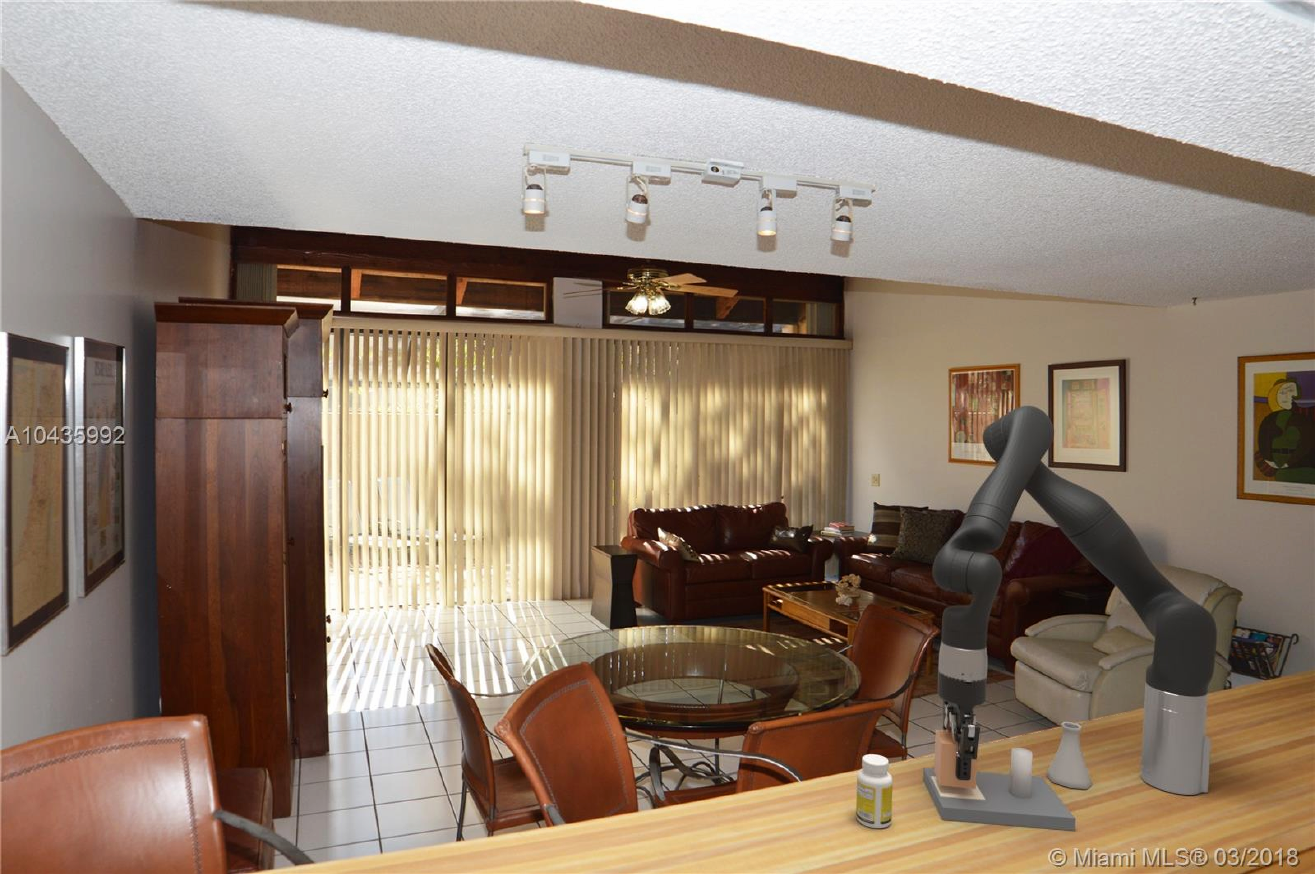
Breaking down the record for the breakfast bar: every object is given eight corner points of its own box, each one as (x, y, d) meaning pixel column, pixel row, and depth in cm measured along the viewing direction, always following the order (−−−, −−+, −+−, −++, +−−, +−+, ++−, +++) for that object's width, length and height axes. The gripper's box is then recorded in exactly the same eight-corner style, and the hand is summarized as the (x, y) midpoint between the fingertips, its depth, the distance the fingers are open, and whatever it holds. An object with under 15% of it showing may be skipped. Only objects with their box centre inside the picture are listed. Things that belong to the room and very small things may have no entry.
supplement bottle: (887, 813, 128) (890, 753, 127) (894, 831, 122) (896, 768, 122) (853, 810, 128) (855, 750, 128) (858, 828, 123) (860, 765, 122)
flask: (1090, 776, 143) (1093, 722, 142) (1093, 794, 136) (1096, 736, 136) (1045, 768, 146) (1048, 714, 145) (1046, 784, 139) (1049, 728, 139)
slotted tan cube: (933, 770, 136) (935, 728, 135) (968, 773, 135) (970, 731, 134) (939, 785, 130) (941, 741, 130) (975, 789, 129) (977, 745, 129)
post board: (1041, 788, 138) (1044, 737, 137) (1074, 831, 124) (1077, 774, 123) (922, 778, 140) (925, 728, 139) (942, 819, 126) (944, 764, 126)
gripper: (929, 655, 139) (925, 750, 140) (950, 684, 125) (945, 789, 126) (973, 658, 138) (969, 753, 139) (999, 687, 124) (994, 793, 125)
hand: (957, 770), depth 132 cm, fingers closed on slotted tan cube, 5 cm apart
